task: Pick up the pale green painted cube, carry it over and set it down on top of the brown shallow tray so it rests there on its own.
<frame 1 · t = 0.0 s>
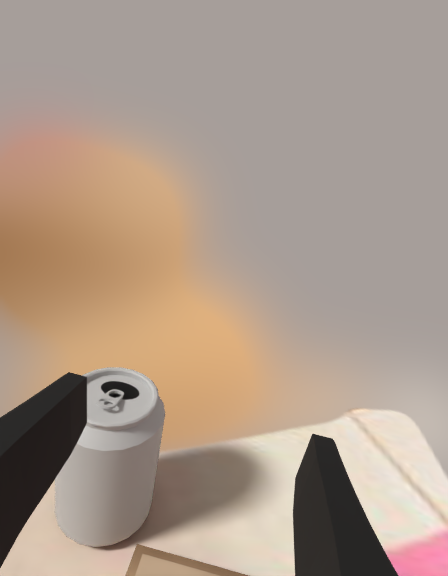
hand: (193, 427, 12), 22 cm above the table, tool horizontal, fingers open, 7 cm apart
can: (104, 509, 32), on the table
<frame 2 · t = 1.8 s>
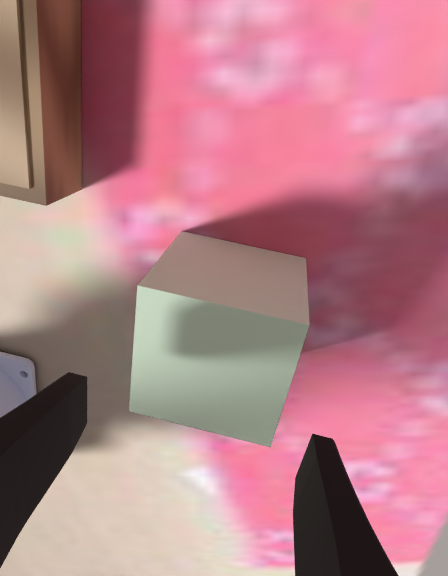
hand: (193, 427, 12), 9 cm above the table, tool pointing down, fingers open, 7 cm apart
green cube: (232, 298, 20), on the table
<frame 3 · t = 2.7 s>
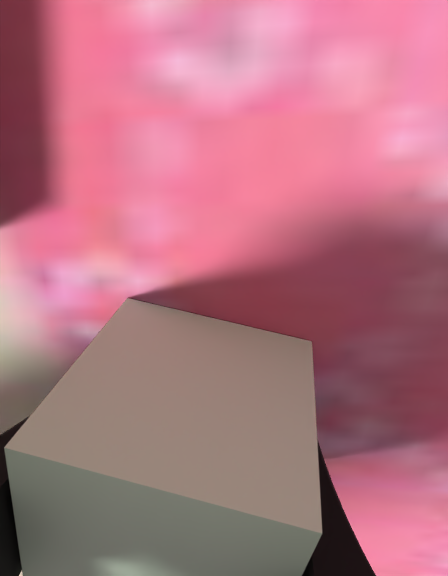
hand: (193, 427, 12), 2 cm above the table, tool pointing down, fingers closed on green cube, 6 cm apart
green cube: (204, 390, 14), on the table, touching gripper
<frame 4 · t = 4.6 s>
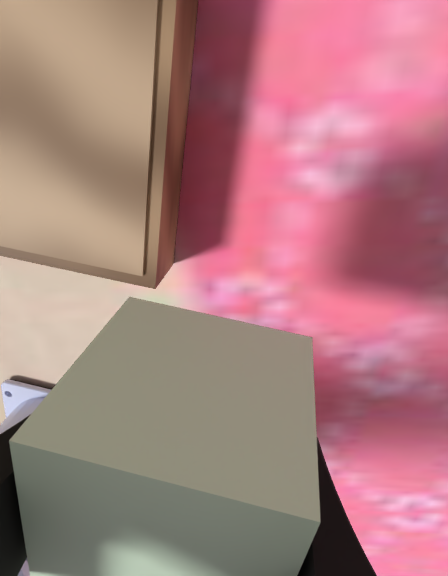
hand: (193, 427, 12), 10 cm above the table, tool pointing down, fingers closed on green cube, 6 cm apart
green cube: (207, 387, 14), point 8 cm above the table, touching gripper
brown shallow tray: (82, 128, 19), on the table
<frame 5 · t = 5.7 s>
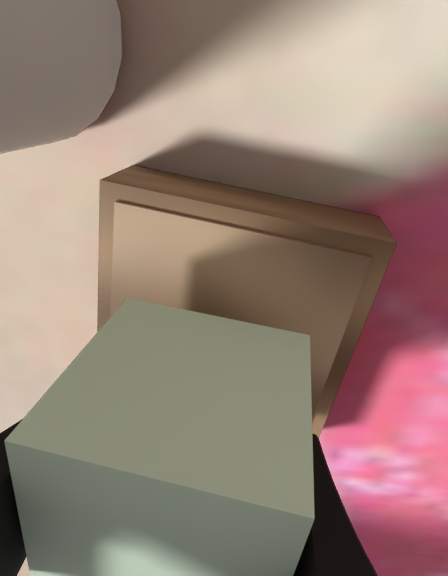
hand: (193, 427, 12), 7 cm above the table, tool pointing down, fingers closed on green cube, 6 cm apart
green cube: (206, 387, 14), point 5 cm above the table, touching gripper
can: (38, 33, 15), on the table
brown shallow tray: (227, 316, 18), on the table
when the fingers open (6 cm above the table, at t = 6.5 s): green cube stays where it is, resting on brown shallow tray.
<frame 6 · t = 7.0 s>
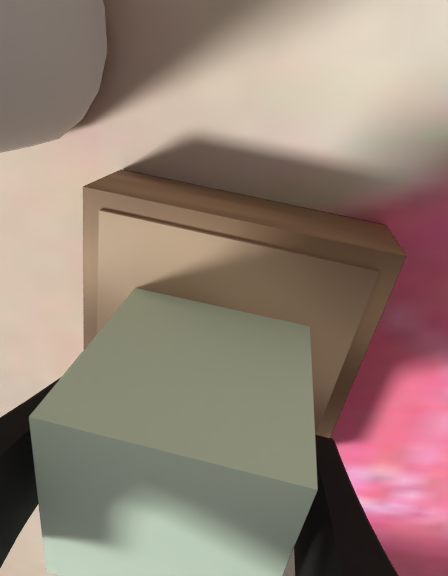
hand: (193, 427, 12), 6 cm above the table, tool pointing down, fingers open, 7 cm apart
green cube: (209, 375, 15), point 3 cm above the table, touching brown shallow tray
can: (17, 27, 13), on the table
brown shallow tray: (223, 329, 17), on the table
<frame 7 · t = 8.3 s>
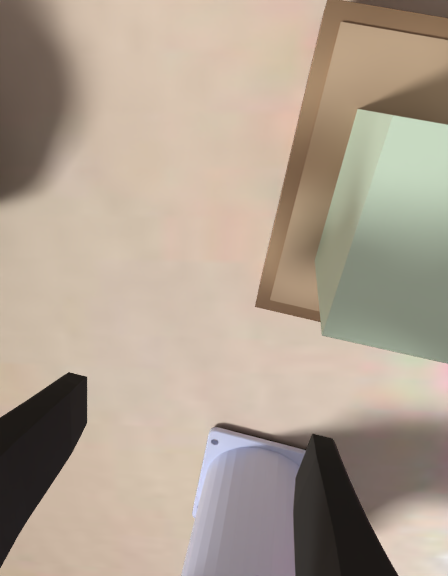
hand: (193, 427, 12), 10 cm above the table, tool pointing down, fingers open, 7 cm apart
green cube: (411, 206, 15), point 3 cm above the table, touching brown shallow tray
brown shallow tray: (394, 189, 18), on the table
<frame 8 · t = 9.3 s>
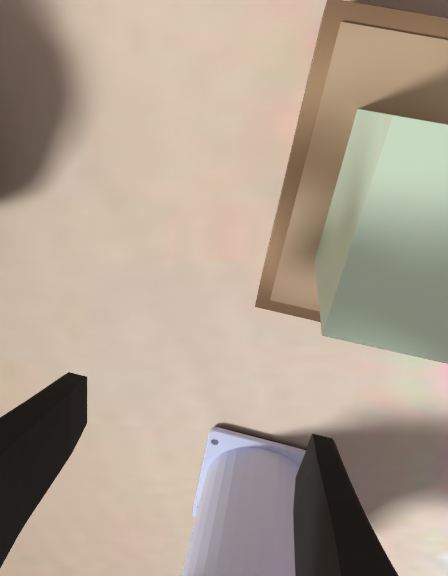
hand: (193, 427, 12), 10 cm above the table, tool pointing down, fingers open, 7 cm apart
green cube: (411, 206, 15), point 3 cm above the table, touching brown shallow tray
brown shallow tray: (394, 189, 18), on the table
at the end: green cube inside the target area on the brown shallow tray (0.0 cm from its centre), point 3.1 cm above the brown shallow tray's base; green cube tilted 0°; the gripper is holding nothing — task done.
